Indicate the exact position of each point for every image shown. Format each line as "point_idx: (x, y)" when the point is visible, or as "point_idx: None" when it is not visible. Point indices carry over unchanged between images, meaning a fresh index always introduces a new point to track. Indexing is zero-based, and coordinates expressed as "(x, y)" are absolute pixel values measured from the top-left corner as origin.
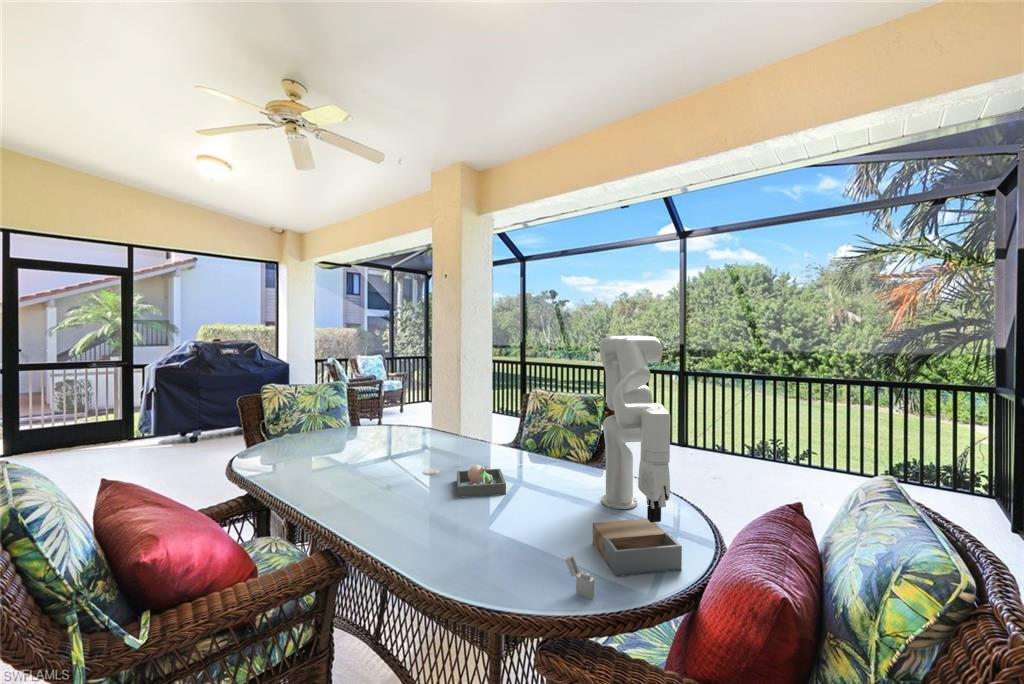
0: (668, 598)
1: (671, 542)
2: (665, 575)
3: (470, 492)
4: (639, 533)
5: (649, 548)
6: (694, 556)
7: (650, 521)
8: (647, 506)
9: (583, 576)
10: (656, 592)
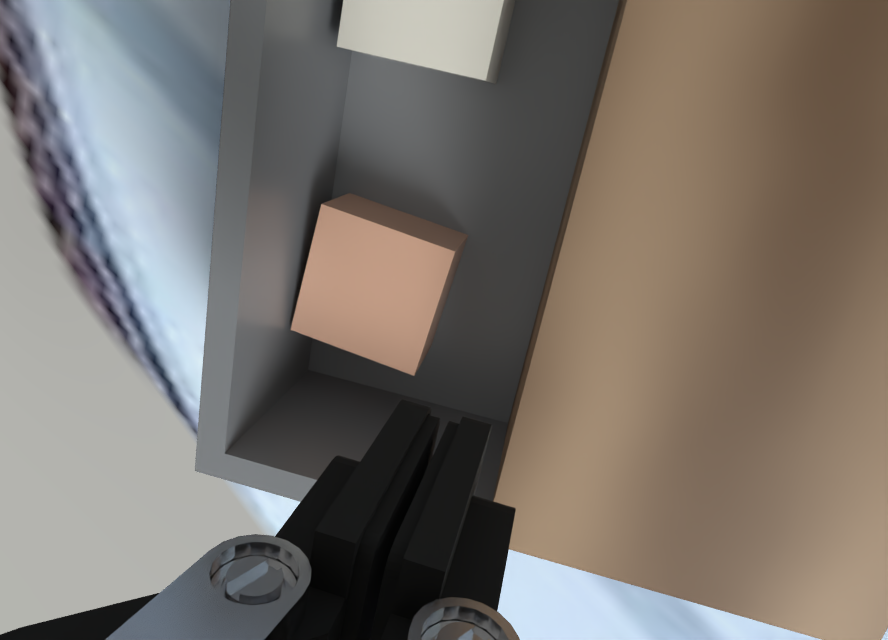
0: (26, 54)
1: None
2: None
3: None
4: (614, 295)
5: (225, 142)
6: None
7: (397, 407)
8: (448, 561)
9: None
10: (99, 15)
